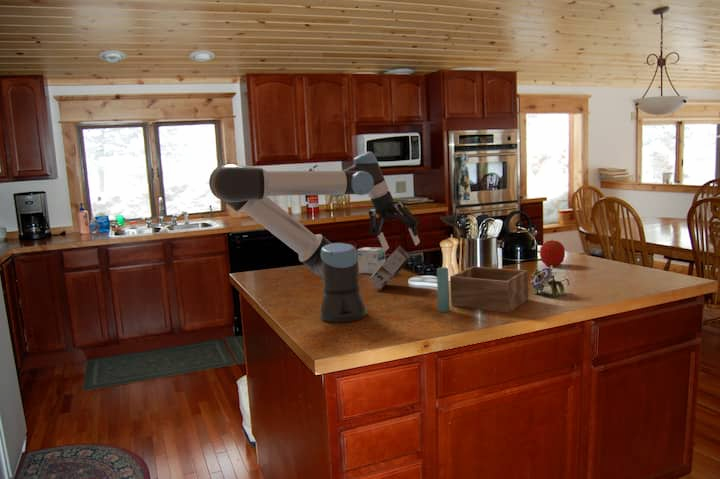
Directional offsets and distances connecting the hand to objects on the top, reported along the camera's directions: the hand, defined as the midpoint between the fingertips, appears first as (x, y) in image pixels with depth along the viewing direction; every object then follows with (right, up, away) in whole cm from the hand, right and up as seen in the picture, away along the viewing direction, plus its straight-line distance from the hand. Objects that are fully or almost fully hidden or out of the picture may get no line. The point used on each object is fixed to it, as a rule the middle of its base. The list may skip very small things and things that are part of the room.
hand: (401, 246), depth 202 cm
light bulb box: (-10, -12, +44) cm, 46 cm away
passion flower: (+50, -16, -9) cm, 54 cm away
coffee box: (-9, -14, +16) cm, 23 cm away
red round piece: (+66, -9, +33) cm, 75 cm away
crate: (+29, -19, -16) cm, 37 cm away
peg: (+12, -21, -21) cm, 32 cm away
